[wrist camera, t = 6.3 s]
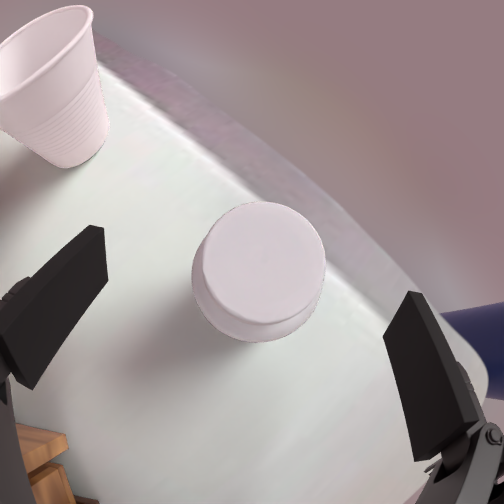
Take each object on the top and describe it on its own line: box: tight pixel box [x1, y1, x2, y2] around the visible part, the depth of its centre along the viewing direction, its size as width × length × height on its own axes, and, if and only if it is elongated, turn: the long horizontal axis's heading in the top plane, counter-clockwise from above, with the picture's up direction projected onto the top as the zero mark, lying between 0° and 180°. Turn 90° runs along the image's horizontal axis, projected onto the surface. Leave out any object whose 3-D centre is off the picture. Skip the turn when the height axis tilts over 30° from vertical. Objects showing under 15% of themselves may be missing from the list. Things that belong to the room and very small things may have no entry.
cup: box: [0, 5, 110, 168], centre depth 16 cm, size 10×10×11 cm
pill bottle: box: [192, 202, 326, 343], centre depth 14 cm, size 5×5×10 cm
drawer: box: [15, 423, 76, 504], centre depth 10 cm, size 17×11×7 cm, turn 7°
